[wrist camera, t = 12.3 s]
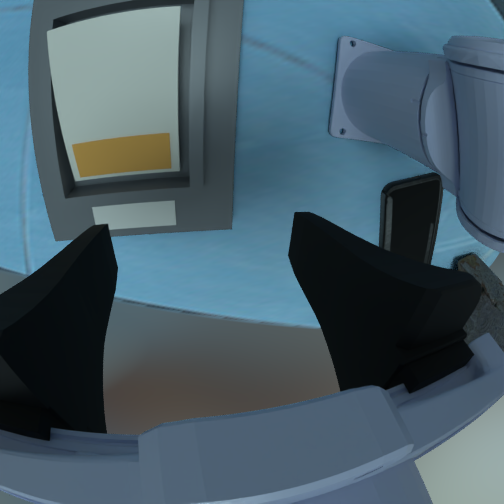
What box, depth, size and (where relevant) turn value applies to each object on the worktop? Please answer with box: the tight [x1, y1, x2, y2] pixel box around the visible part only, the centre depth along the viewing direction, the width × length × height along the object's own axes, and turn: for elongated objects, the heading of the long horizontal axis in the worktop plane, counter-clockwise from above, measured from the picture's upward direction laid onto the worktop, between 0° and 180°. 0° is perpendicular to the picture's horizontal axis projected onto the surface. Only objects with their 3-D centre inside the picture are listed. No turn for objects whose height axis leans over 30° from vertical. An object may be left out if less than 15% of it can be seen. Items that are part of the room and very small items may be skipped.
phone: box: [379, 172, 443, 265], centre depth 28 cm, size 8×1×15 cm
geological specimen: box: [458, 254, 504, 352], centre depth 29 cm, size 11×6×15 cm, turn 1°
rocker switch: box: [47, 6, 181, 181], centre depth 12 cm, size 7×10×1 cm
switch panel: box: [28, 0, 244, 241], centre depth 14 cm, size 14×20×4 cm
